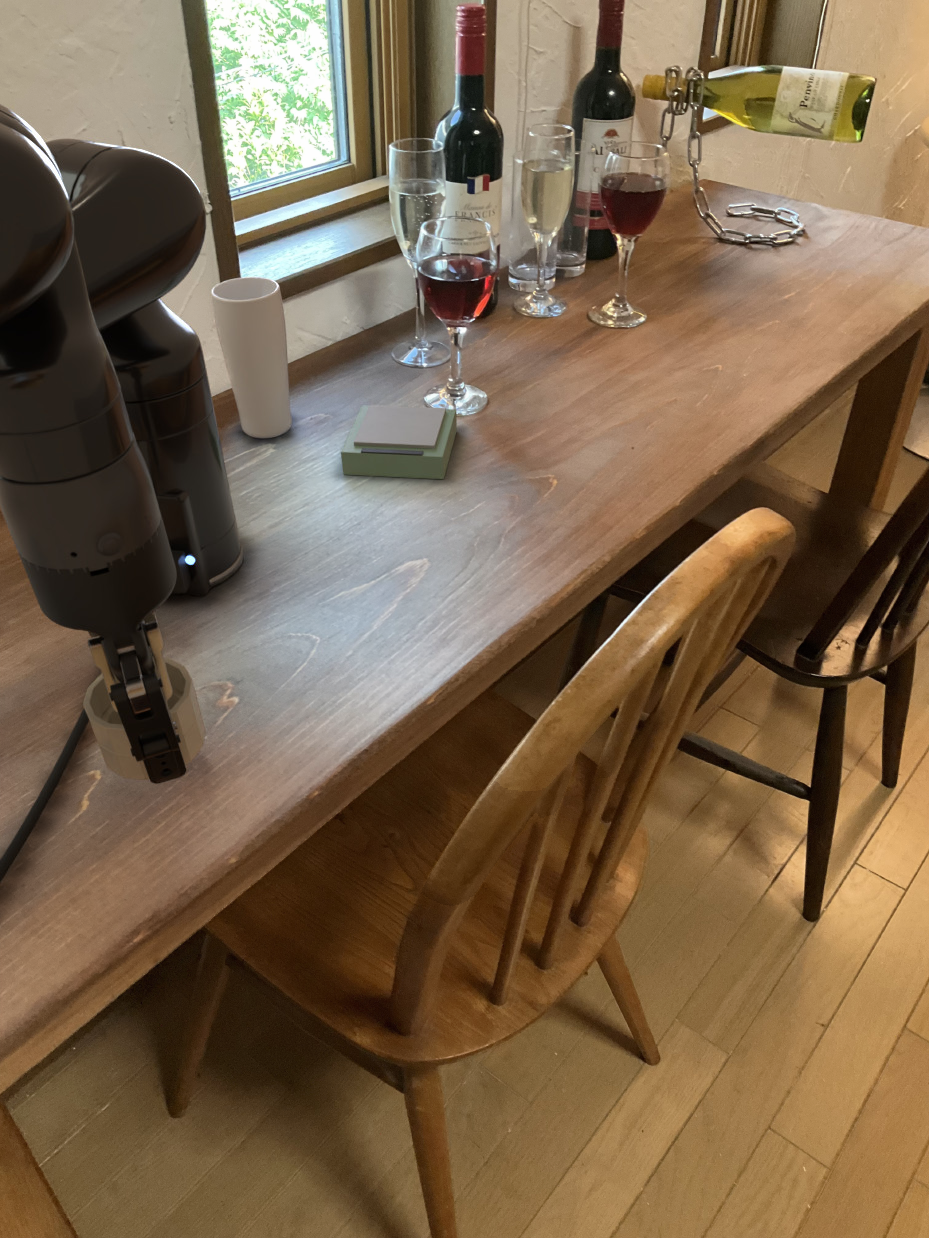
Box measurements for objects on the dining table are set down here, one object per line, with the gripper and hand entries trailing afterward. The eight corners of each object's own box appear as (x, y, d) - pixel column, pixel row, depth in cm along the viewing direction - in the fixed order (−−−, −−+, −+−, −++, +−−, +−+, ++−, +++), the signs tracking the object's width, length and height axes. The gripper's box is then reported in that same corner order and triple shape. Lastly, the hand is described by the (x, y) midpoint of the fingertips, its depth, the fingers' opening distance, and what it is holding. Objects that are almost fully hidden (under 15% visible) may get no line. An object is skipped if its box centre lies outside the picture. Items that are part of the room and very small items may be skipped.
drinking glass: (294, 444, 99) (273, 301, 90) (229, 444, 99) (202, 301, 90) (304, 413, 105) (285, 276, 95) (242, 414, 105) (218, 276, 95)
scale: (443, 479, 93) (442, 453, 91) (343, 474, 94) (340, 448, 92) (456, 431, 101) (456, 405, 99) (363, 426, 102) (361, 401, 100)
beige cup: (187, 789, 59) (170, 733, 56) (87, 780, 60) (64, 724, 57) (220, 715, 64) (206, 660, 61) (127, 708, 65) (108, 653, 62)
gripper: (7, 474, 55) (87, 684, 66) (21, 619, 45) (114, 840, 56) (139, 446, 57) (197, 654, 68) (182, 579, 47) (242, 799, 58)
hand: (159, 737), depth 62 cm, fingers closed on beige cup, 6 cm apart
